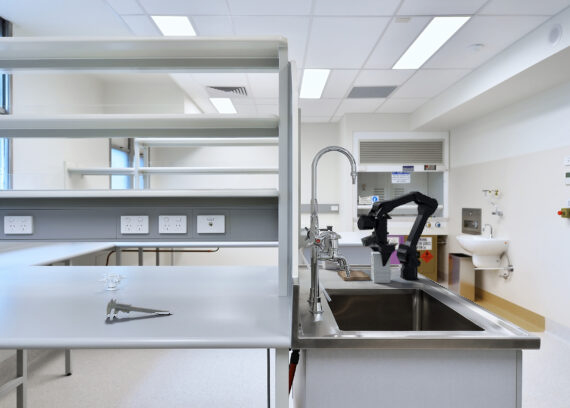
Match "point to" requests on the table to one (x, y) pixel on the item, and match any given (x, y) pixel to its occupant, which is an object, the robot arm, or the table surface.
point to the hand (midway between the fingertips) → (380, 264)
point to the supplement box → (379, 269)
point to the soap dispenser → (326, 263)
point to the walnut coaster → (354, 275)
